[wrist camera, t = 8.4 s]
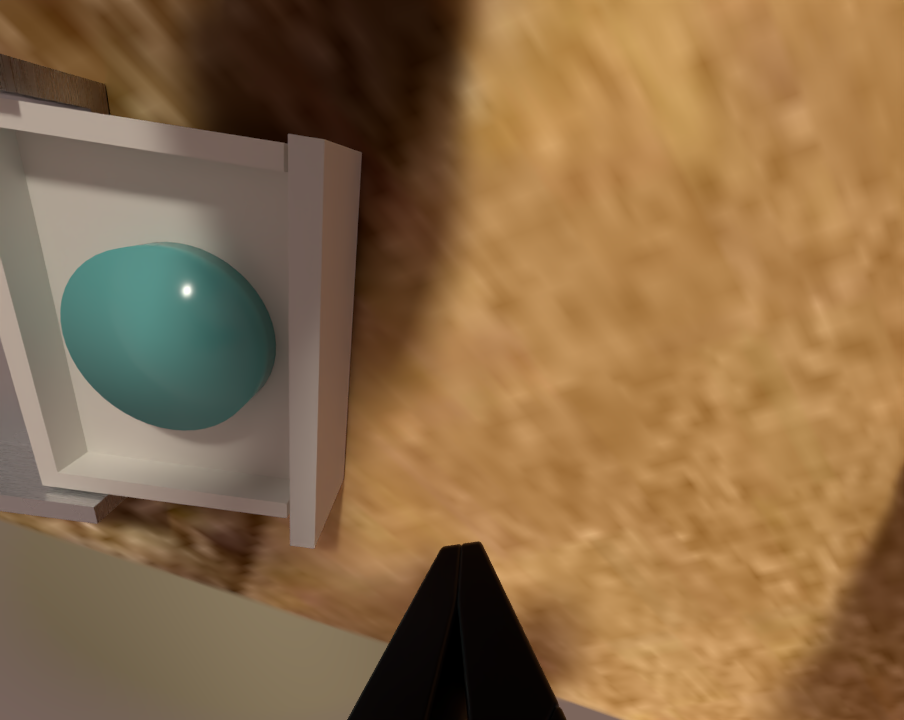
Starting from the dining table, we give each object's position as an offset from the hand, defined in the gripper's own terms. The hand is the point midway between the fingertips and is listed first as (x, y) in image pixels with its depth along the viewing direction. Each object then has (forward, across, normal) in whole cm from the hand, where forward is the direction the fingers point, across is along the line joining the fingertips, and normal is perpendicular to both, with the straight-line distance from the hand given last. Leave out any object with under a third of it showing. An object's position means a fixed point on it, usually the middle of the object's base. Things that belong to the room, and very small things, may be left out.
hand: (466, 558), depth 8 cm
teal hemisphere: (+9, +10, -4) cm, 14 cm away
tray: (+11, +10, -4) cm, 15 cm away
